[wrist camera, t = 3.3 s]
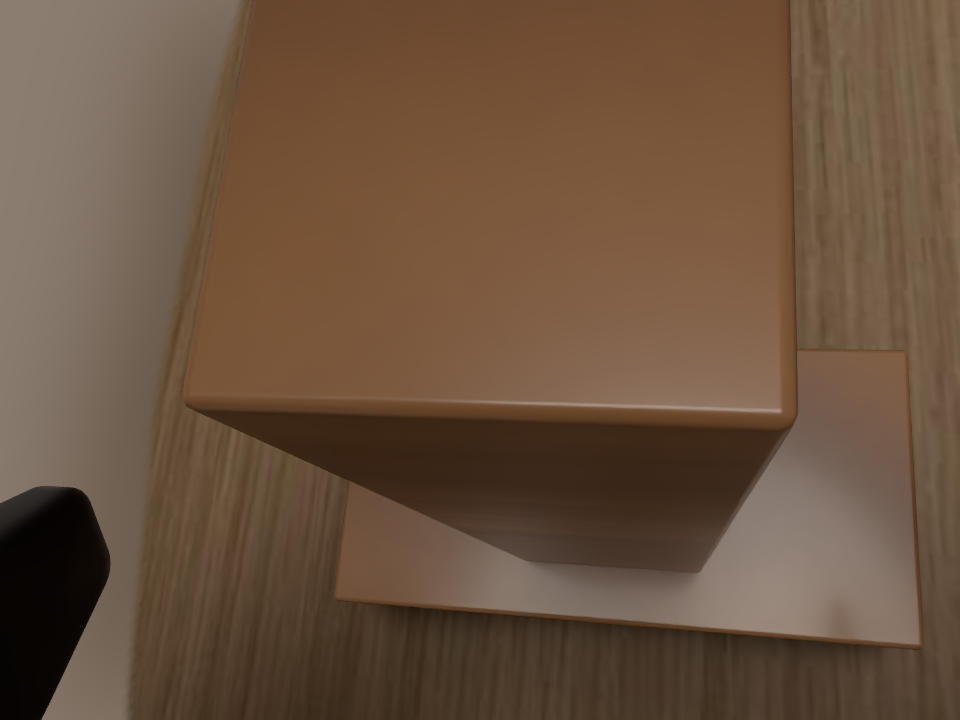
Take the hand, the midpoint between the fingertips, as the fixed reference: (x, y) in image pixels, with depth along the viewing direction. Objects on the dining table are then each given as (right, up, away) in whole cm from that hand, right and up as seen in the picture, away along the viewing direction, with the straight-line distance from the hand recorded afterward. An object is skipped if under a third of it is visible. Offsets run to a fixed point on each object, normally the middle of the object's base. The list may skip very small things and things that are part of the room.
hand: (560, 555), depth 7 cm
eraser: (+2, -1, +9) cm, 9 cm away
